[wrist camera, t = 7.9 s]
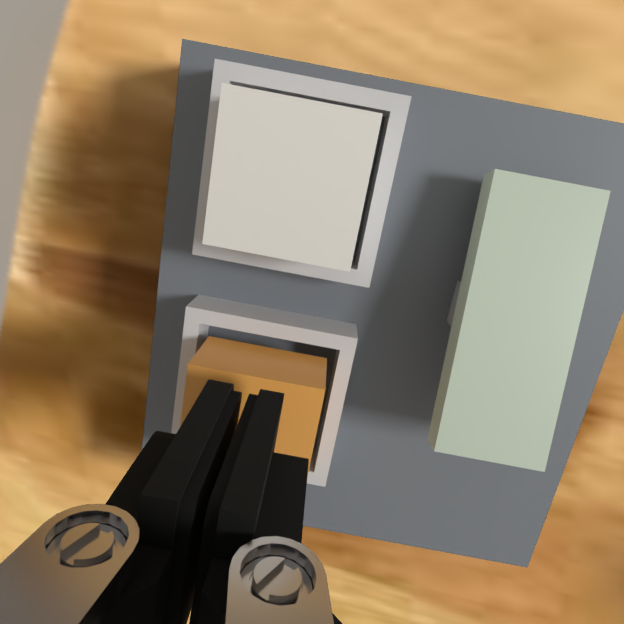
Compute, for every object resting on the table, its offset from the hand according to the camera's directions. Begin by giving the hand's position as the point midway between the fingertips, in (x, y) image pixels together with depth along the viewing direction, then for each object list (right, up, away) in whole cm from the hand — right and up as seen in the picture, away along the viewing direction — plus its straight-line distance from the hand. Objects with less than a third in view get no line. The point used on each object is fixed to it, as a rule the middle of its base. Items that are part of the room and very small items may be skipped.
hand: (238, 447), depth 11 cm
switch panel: (+4, +3, +7) cm, 8 cm away
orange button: (0, +1, +3) cm, 3 cm away
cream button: (+1, +6, +1) cm, 6 cm away
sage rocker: (+7, +3, +2) cm, 8 cm away
